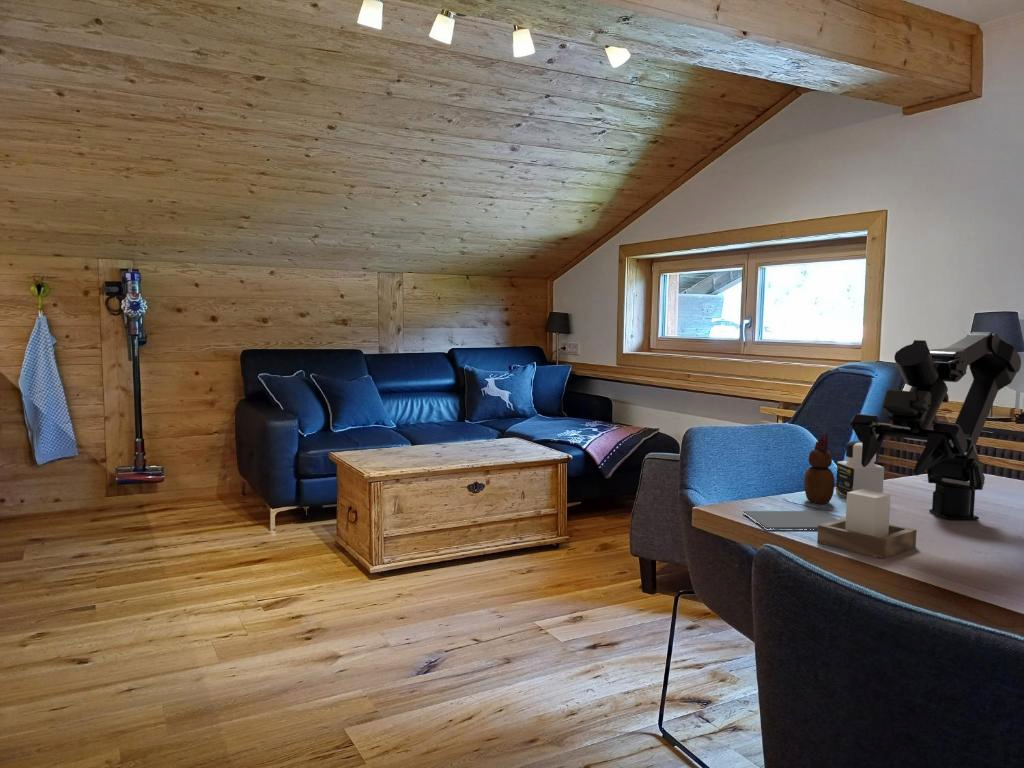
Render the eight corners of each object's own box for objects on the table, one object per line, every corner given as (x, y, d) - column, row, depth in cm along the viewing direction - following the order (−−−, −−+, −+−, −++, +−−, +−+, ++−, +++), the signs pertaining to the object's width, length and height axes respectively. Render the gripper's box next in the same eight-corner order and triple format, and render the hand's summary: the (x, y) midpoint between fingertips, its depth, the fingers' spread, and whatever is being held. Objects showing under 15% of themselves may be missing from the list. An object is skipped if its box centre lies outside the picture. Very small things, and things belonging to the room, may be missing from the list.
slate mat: (821, 513, 154) (821, 510, 154) (851, 530, 142) (851, 527, 142) (742, 514, 153) (743, 511, 153) (766, 530, 141) (766, 527, 141)
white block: (859, 539, 136) (862, 488, 136) (887, 545, 132) (890, 494, 132) (844, 543, 133) (847, 492, 133) (872, 550, 129) (875, 498, 129)
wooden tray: (851, 531, 141) (852, 515, 141) (915, 546, 132) (916, 529, 132) (817, 542, 134) (818, 525, 134) (882, 558, 125) (883, 540, 125)
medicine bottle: (835, 492, 174) (837, 439, 173) (865, 492, 175) (868, 439, 174) (851, 499, 167) (854, 444, 166) (883, 499, 168) (886, 444, 167)
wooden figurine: (836, 506, 160) (839, 435, 159) (806, 505, 161) (810, 433, 160) (829, 499, 167) (832, 430, 166) (801, 497, 168) (804, 429, 167)
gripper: (858, 370, 145) (823, 433, 139) (964, 377, 130) (930, 447, 124) (877, 410, 150) (844, 471, 145) (981, 420, 136) (949, 490, 130)
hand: (888, 469), depth 136 cm, fingers open, 9 cm apart
